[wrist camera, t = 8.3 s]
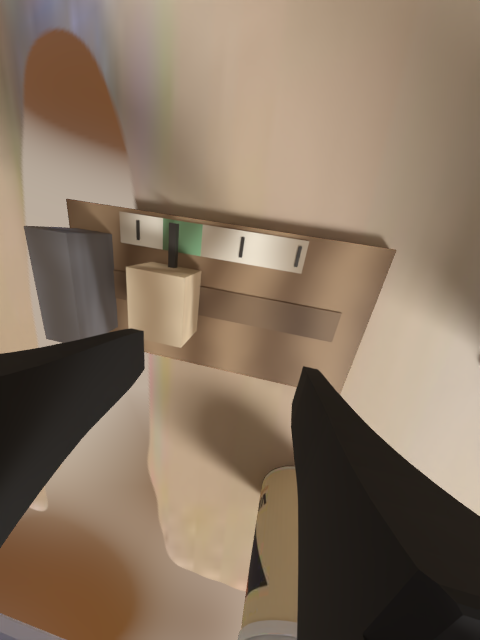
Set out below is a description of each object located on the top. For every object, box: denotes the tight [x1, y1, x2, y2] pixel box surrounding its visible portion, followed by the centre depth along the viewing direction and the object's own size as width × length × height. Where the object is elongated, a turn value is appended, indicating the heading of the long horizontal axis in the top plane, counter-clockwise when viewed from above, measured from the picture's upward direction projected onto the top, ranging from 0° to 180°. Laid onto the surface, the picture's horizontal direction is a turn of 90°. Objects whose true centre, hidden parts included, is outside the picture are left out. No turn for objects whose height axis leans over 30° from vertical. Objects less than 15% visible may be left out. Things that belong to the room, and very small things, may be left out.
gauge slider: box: [126, 223, 201, 348], centre depth 16 cm, size 4×8×3 cm, turn 172°
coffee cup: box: [238, 466, 298, 640], centre depth 20 cm, size 9×9×12 cm
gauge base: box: [24, 199, 396, 395], centre depth 17 cm, size 24×12×5 cm, turn 82°
